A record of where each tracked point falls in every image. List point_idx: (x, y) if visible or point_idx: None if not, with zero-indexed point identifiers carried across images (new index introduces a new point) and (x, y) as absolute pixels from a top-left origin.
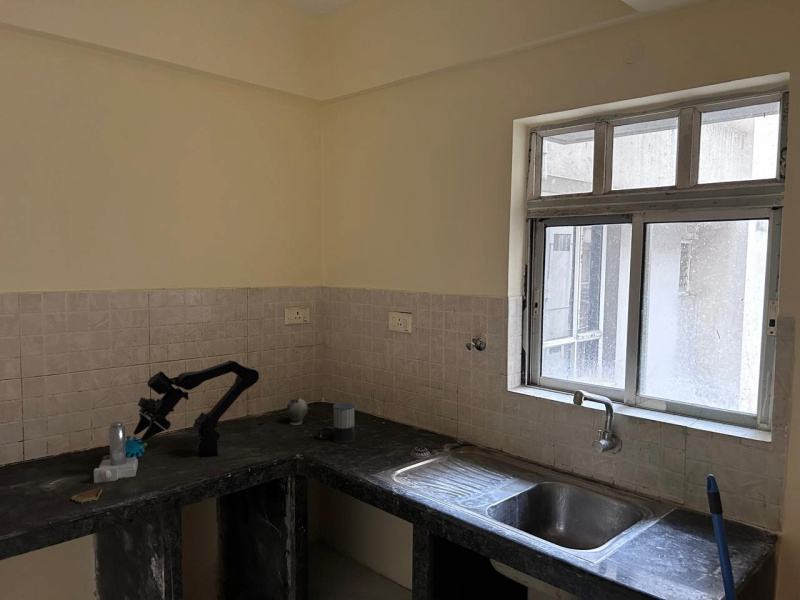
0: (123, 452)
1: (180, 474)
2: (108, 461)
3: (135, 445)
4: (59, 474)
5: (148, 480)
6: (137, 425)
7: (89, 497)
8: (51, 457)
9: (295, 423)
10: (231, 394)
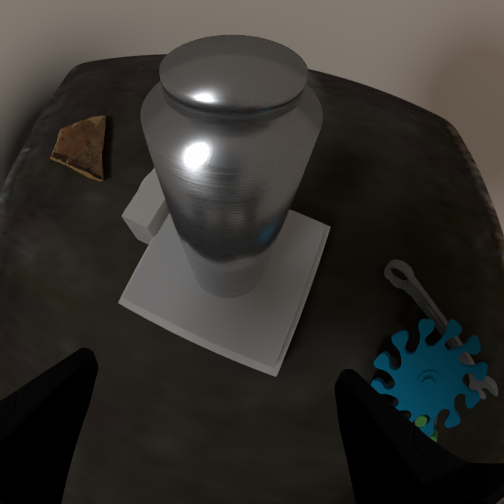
0: (186, 256)
1: None
2: (292, 238)
3: (432, 399)
4: (341, 140)
5: (57, 322)
6: (398, 422)
7: (60, 141)
8: (476, 186)
9: None
10: None
